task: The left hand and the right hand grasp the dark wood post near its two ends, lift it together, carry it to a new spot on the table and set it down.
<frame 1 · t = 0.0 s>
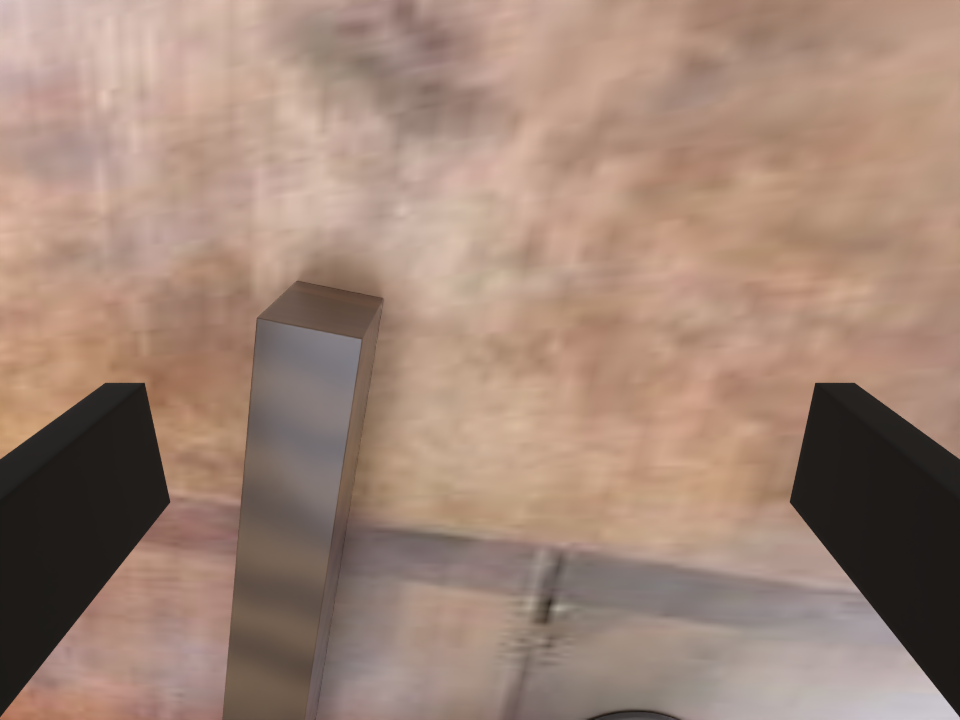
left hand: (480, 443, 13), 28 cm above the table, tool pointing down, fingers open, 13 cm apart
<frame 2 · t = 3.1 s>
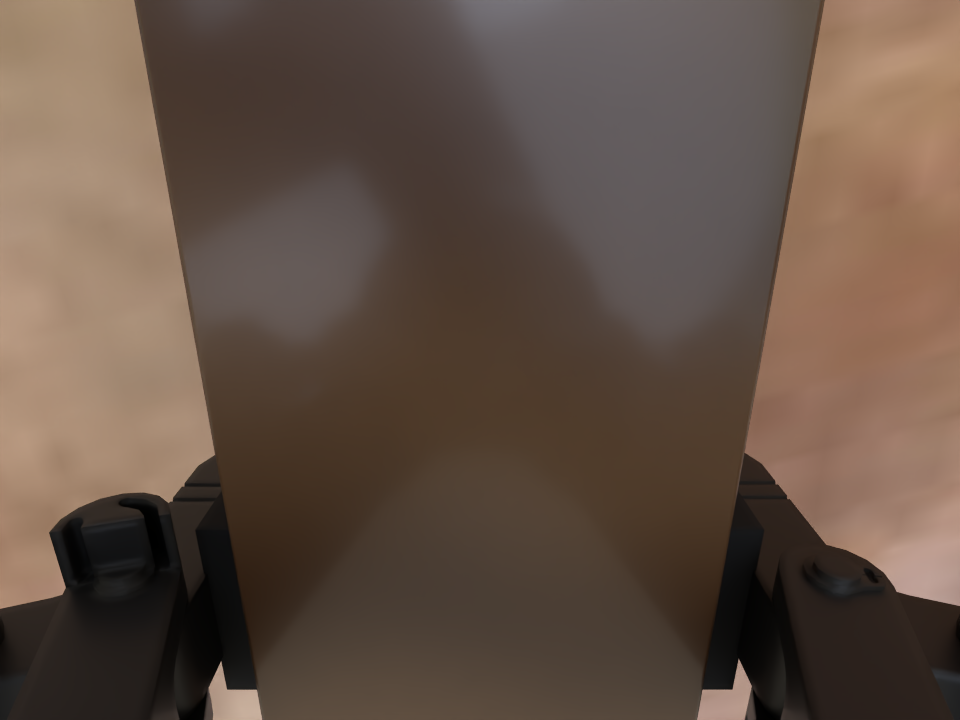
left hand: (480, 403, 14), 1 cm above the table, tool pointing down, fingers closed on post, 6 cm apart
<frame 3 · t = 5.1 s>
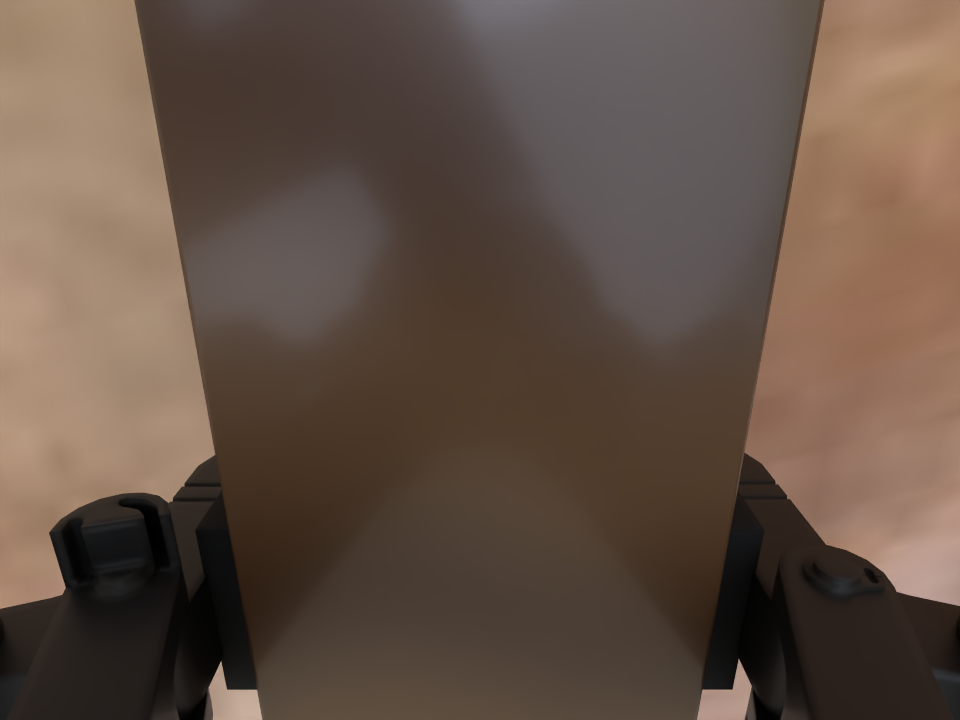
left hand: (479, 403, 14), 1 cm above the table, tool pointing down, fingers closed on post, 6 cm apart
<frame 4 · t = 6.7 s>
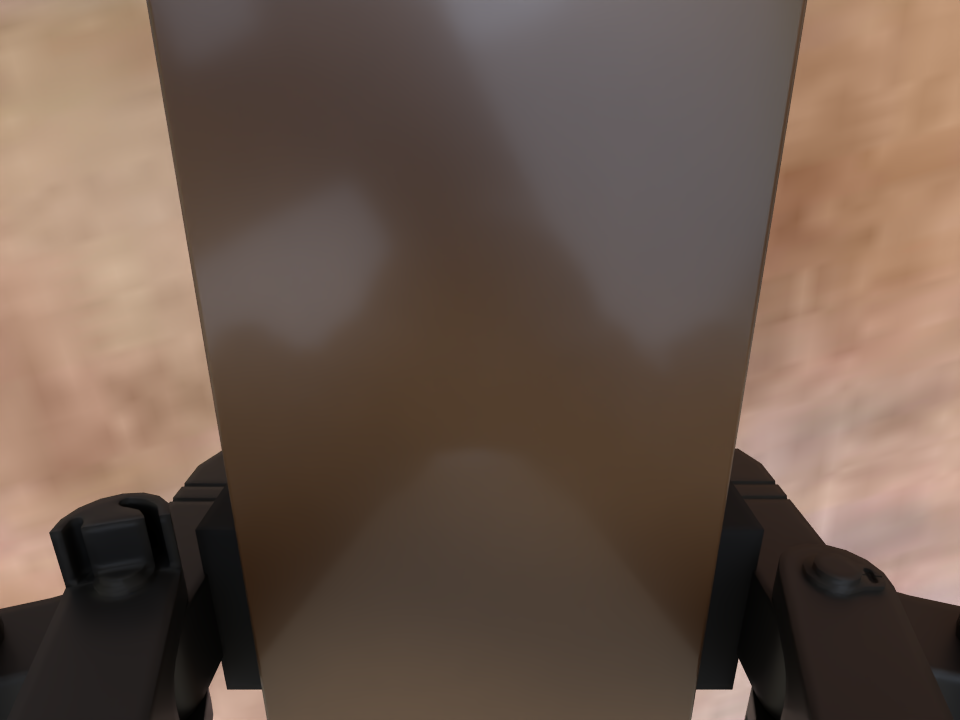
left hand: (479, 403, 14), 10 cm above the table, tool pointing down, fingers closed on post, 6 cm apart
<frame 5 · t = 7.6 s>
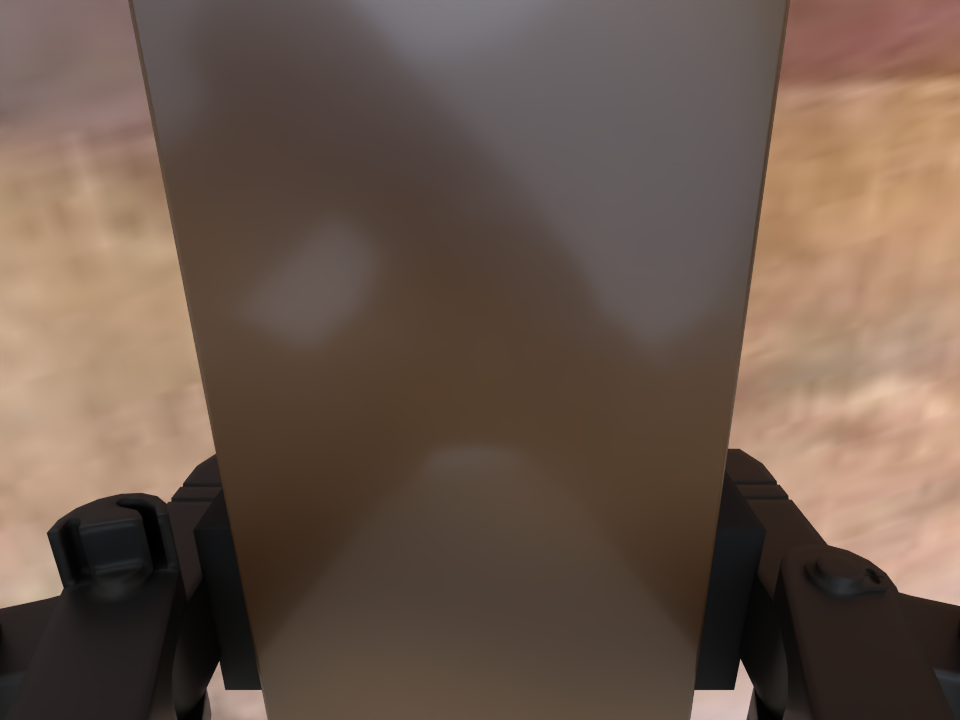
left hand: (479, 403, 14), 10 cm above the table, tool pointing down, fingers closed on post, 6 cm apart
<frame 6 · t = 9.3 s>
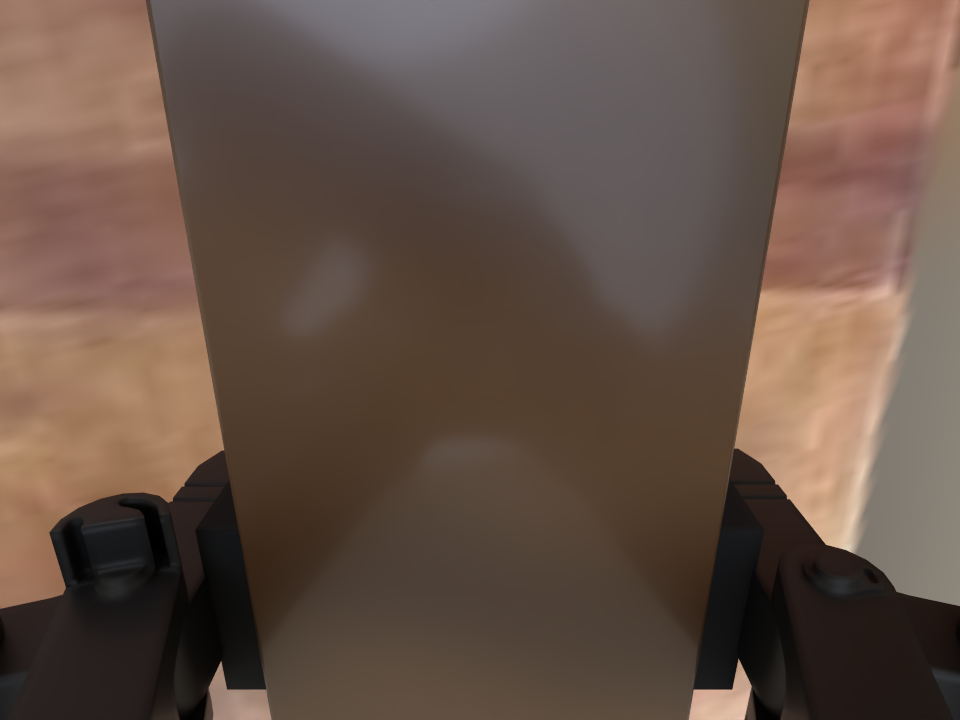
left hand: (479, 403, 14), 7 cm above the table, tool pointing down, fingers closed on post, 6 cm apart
when the left hand's fingers open (2 cm above the table, at t = 10.3 s): post stays where it is, on the table.
when the right hand's fingers open (4 cm above the table, at t = 10.4 s): post stays where it is, on the table.
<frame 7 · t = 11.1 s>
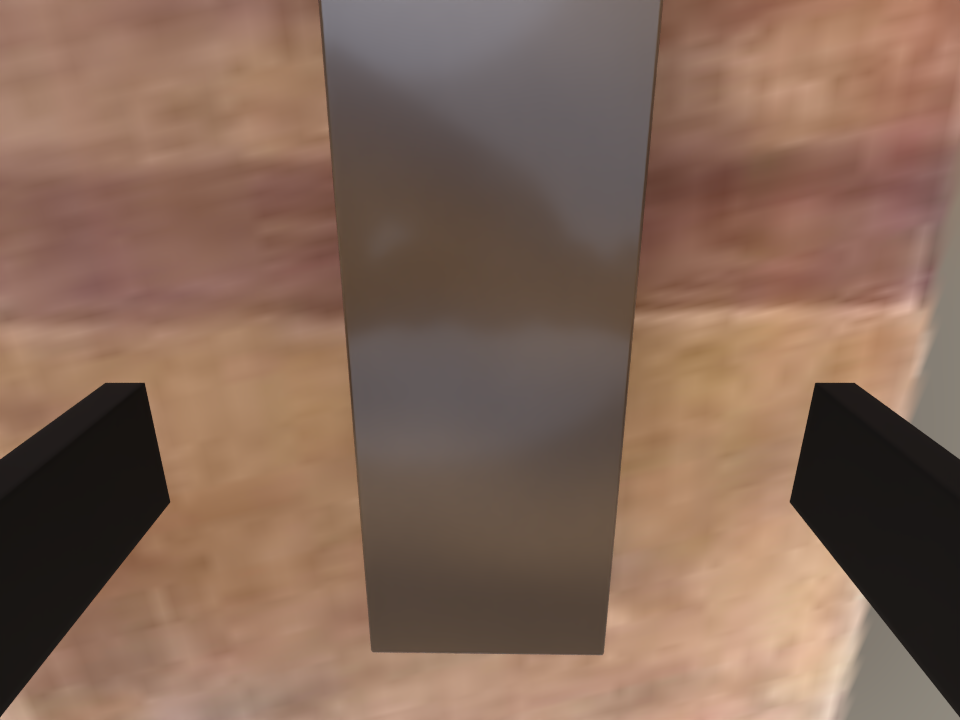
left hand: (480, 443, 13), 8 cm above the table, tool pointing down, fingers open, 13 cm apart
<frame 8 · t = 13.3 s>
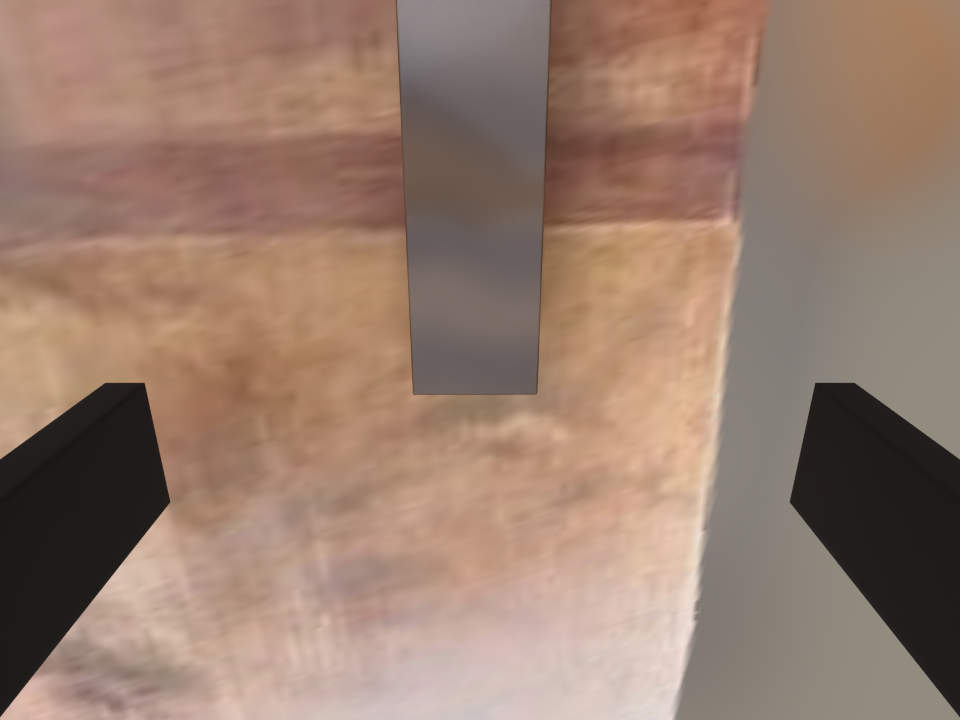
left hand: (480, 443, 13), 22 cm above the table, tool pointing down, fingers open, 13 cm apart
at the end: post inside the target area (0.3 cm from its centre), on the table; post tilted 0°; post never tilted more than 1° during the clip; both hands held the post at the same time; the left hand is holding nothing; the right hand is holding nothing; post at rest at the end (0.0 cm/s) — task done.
